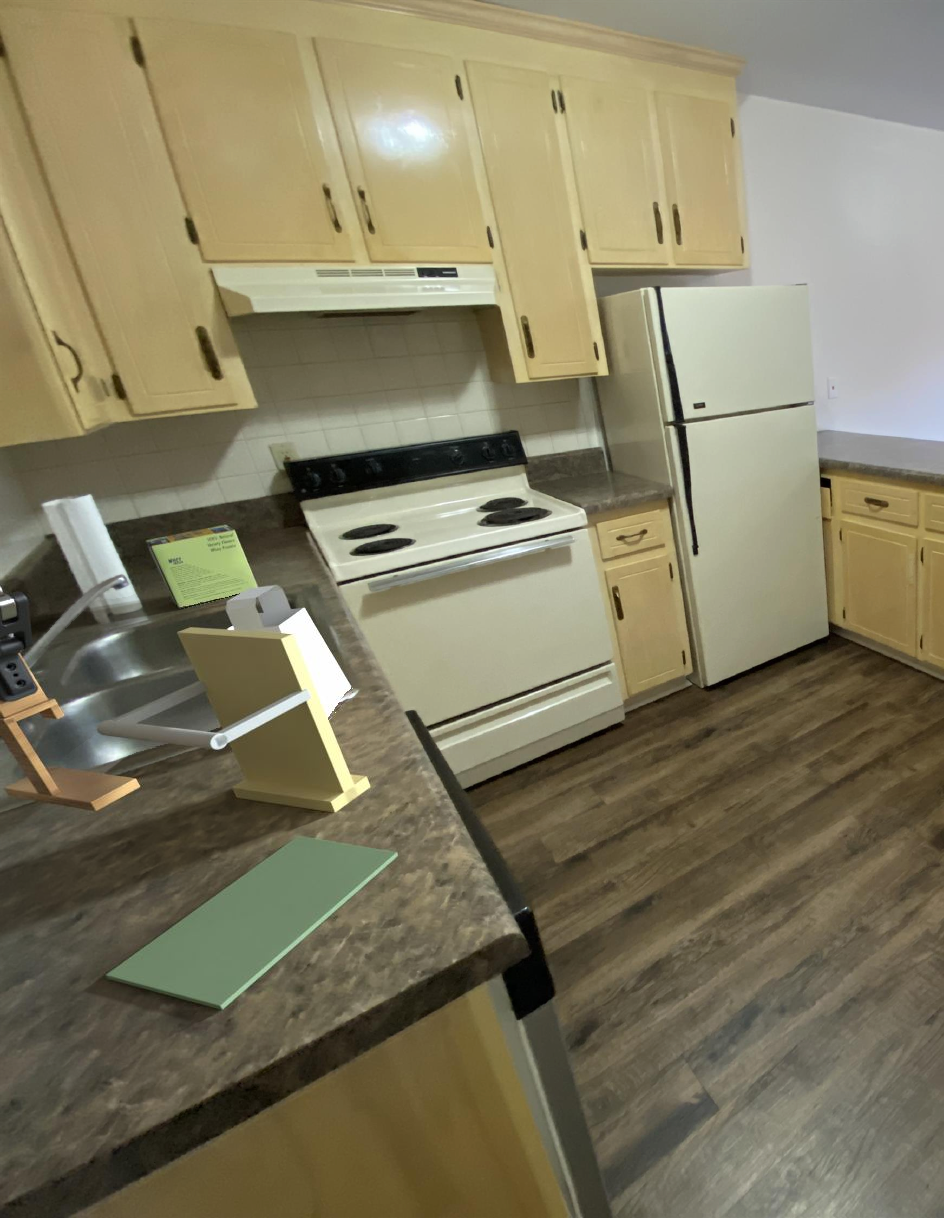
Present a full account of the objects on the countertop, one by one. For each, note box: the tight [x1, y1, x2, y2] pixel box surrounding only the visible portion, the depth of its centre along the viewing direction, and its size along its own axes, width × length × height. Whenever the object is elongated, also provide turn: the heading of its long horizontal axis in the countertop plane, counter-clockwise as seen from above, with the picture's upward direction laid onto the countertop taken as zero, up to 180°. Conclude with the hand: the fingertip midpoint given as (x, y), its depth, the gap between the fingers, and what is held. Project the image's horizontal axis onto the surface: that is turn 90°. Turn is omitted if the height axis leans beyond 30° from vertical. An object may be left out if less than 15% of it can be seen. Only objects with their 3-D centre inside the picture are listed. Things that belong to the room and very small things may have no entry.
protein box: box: [144, 524, 259, 608], centre depth 159 cm, size 10×15×16 cm
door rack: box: [96, 626, 371, 814], centre depth 75 cm, size 13×17×22 cm
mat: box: [105, 835, 399, 1011], centre depth 65 cm, size 14×18×1 cm
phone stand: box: [0, 639, 141, 812], centre depth 59 cm, size 4×12×15 cm, turn 75°
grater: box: [225, 584, 352, 718], centre depth 99 cm, size 10×10×20 cm
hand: (14, 695), depth 58 cm, fingers closed on phone stand, 1 cm apart
